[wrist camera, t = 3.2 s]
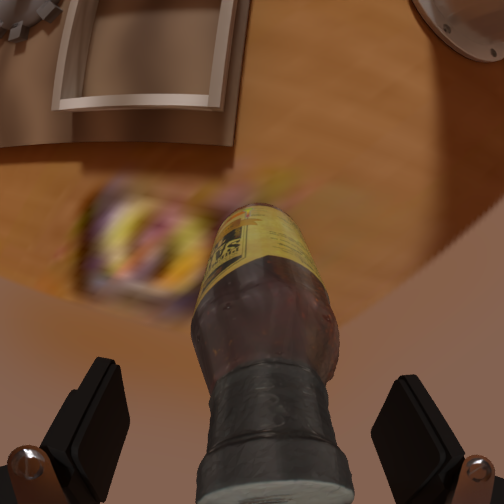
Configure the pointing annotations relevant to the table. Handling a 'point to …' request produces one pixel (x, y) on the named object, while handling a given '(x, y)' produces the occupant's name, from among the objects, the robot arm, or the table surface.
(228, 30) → the gear board
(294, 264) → the sauce bottle
